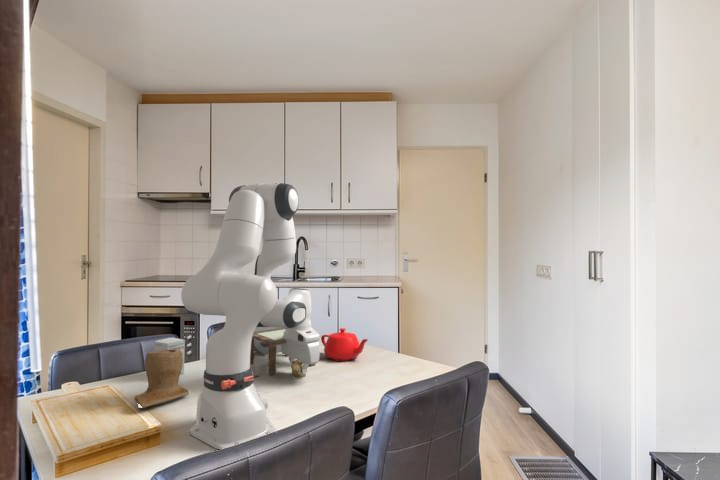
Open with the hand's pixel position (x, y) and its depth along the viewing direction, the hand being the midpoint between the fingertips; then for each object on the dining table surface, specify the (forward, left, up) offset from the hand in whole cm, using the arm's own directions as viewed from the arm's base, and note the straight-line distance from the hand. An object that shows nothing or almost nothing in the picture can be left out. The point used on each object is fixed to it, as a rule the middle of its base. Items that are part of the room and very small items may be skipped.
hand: (298, 371), depth 139 cm
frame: (+16, -2, -2) cm, 16 cm away
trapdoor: (+16, -2, +9) cm, 19 cm away
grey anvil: (+36, -9, -2) cm, 37 cm away
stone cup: (+8, +44, -2) cm, 45 cm away
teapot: (+7, -27, -2) cm, 28 cm away
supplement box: (+31, +35, -2) cm, 47 cm away
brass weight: (0, 0, -2) cm, 2 cm away
